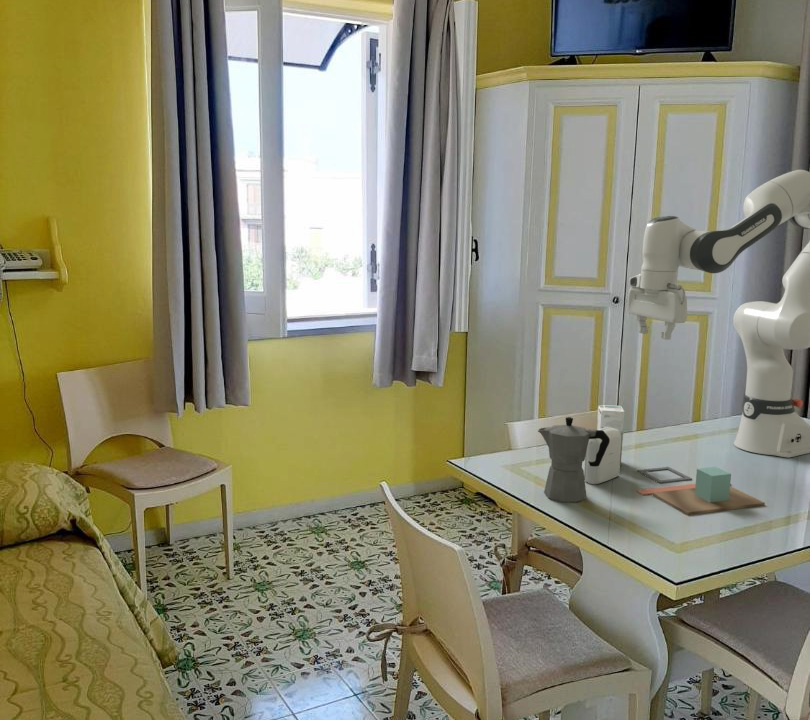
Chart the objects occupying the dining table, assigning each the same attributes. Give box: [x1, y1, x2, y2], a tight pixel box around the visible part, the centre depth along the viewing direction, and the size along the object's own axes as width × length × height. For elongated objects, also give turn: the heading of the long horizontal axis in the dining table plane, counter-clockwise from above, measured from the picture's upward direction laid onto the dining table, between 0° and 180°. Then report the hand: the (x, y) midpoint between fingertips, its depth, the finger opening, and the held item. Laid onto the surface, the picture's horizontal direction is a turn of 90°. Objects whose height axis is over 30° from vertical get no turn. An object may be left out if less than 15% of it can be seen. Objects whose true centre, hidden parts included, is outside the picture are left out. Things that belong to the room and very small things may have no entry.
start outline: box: [636, 466, 693, 484], centre depth 192 cm, size 9×9×1 cm
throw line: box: [636, 482, 732, 496], centre depth 183 cm, size 24×2×1 cm, turn 108°
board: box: [652, 485, 766, 516], centre depth 176 cm, size 20×12×1 cm, turn 108°
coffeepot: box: [537, 416, 610, 504], centre depth 176 cm, size 15×9×18 cm, turn 75°
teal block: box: [695, 466, 732, 502], centre depth 176 cm, size 5×5×6 cm
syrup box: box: [596, 404, 626, 467], centre depth 199 cm, size 6×6×14 cm
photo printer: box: [584, 427, 622, 485], centre depth 188 cm, size 10×4×12 cm, turn 132°
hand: (654, 336), depth 203 cm, fingers open, 8 cm apart
